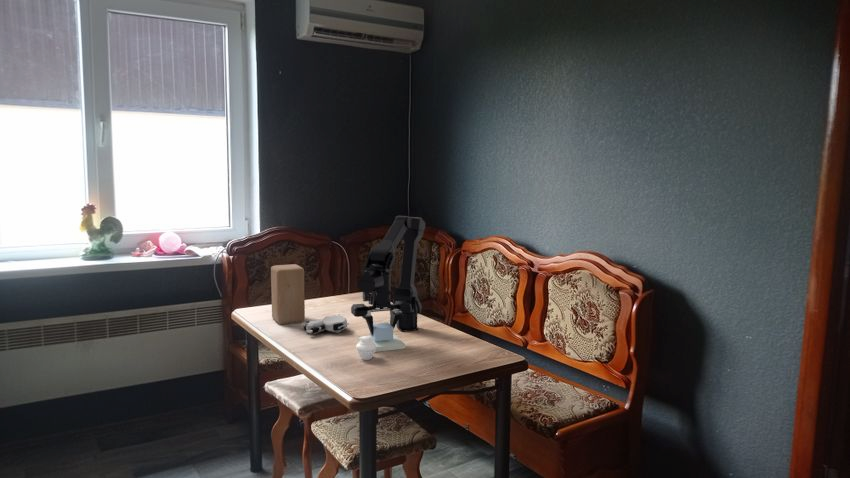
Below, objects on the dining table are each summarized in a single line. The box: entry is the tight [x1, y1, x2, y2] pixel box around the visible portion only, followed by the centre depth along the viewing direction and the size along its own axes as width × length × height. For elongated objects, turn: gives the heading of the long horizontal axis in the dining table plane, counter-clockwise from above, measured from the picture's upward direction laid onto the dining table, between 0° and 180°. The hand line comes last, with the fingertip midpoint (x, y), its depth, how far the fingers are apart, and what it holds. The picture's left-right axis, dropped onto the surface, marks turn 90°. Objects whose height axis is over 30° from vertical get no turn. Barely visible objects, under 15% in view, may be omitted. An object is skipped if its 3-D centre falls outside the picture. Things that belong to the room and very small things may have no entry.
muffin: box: [355, 335, 377, 361], centre depth 189 cm, size 6×6×7 cm
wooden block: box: [270, 263, 306, 325], centre depth 229 cm, size 10×10×20 cm
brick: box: [369, 321, 394, 341], centre depth 202 cm, size 6×6×4 cm
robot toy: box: [301, 314, 350, 335], centre depth 217 cm, size 12×4×15 cm
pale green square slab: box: [358, 333, 406, 353], centre depth 202 cm, size 12×12×2 cm
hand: (381, 334), depth 202 cm, fingers closed on brick, 6 cm apart
